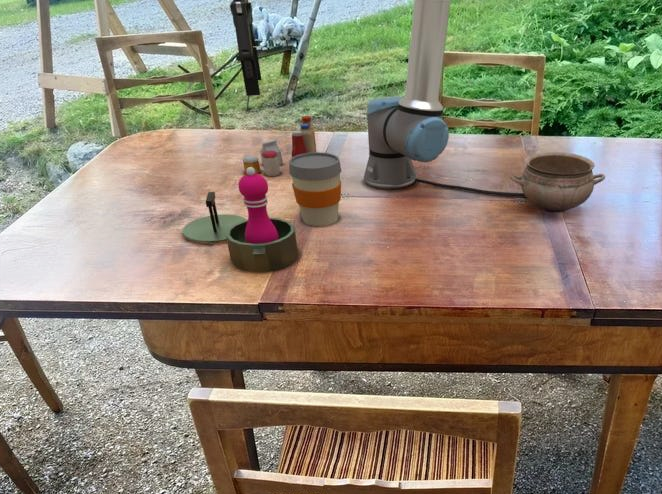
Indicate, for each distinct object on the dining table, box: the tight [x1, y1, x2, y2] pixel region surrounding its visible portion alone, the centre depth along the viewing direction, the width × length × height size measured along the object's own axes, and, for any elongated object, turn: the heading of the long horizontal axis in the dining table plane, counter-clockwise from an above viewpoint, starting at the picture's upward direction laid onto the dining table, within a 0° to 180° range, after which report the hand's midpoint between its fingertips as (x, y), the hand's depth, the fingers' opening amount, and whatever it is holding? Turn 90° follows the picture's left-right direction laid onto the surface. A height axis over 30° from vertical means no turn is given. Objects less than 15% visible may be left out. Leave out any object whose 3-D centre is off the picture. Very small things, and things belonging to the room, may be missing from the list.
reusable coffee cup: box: [288, 151, 342, 227], centre depth 150 cm, size 13×12×15 cm
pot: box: [226, 216, 299, 273], centre depth 135 cm, size 15×20×6 cm
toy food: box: [242, 115, 317, 177], centre depth 183 cm, size 27×13×12 cm, turn 135°
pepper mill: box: [238, 167, 279, 244], centre depth 130 cm, size 7×7×20 cm
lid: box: [182, 191, 248, 244], centre depth 145 cm, size 16×16×9 cm
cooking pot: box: [509, 151, 606, 214], centre depth 158 cm, size 25×19×12 cm
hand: (254, 87), depth 128 cm, fingers open, 13 cm apart
